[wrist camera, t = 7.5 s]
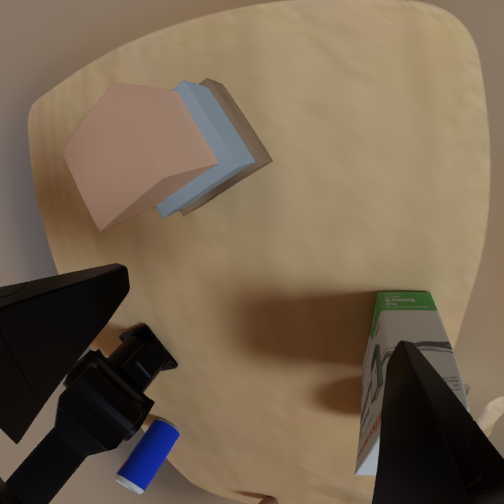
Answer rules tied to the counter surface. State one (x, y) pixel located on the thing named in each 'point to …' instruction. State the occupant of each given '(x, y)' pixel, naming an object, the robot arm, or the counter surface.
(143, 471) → the beverage can
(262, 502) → the egg
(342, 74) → the counter surface
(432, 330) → the ink box
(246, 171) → the tower base
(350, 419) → the counter surface
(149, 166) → the cube
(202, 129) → the tower top
